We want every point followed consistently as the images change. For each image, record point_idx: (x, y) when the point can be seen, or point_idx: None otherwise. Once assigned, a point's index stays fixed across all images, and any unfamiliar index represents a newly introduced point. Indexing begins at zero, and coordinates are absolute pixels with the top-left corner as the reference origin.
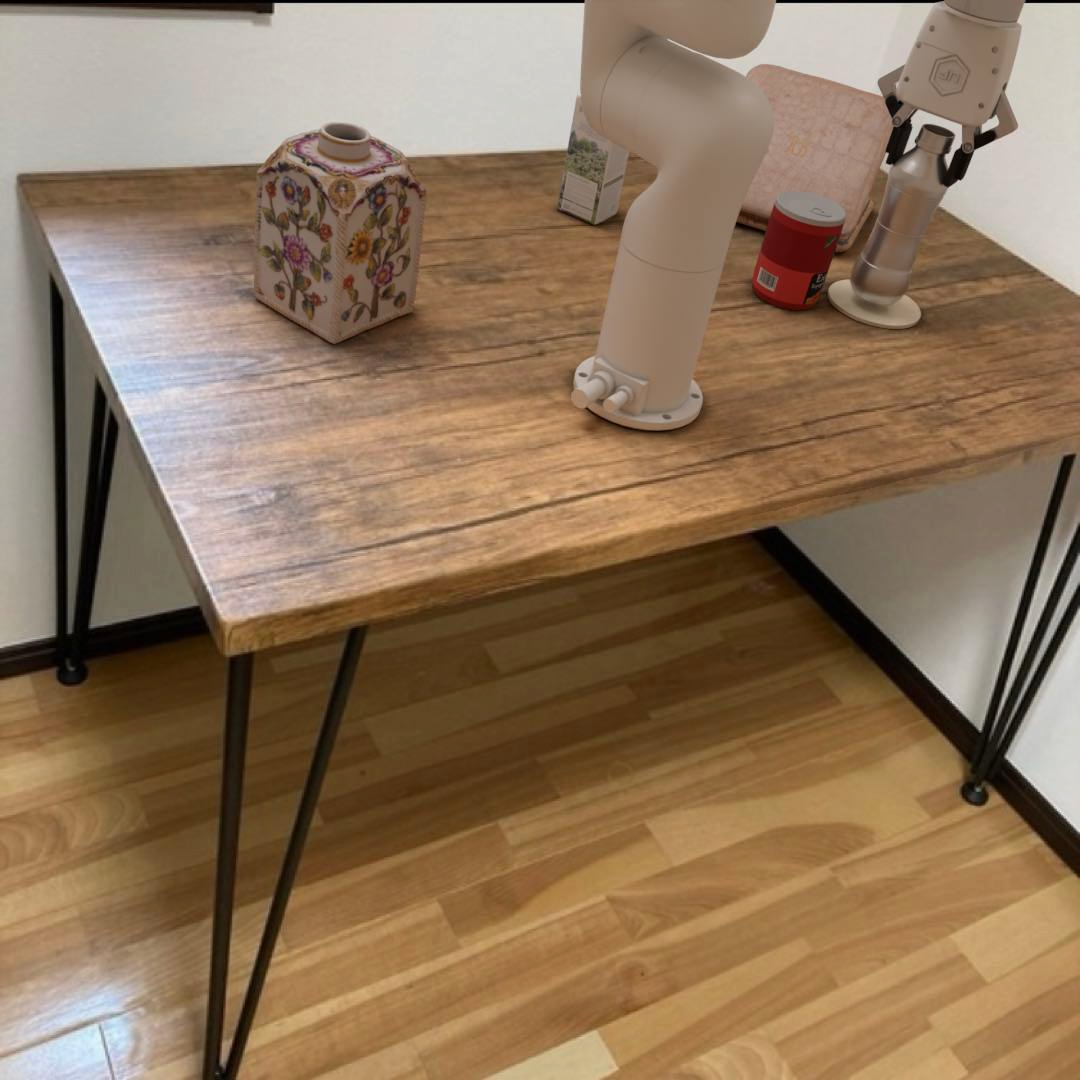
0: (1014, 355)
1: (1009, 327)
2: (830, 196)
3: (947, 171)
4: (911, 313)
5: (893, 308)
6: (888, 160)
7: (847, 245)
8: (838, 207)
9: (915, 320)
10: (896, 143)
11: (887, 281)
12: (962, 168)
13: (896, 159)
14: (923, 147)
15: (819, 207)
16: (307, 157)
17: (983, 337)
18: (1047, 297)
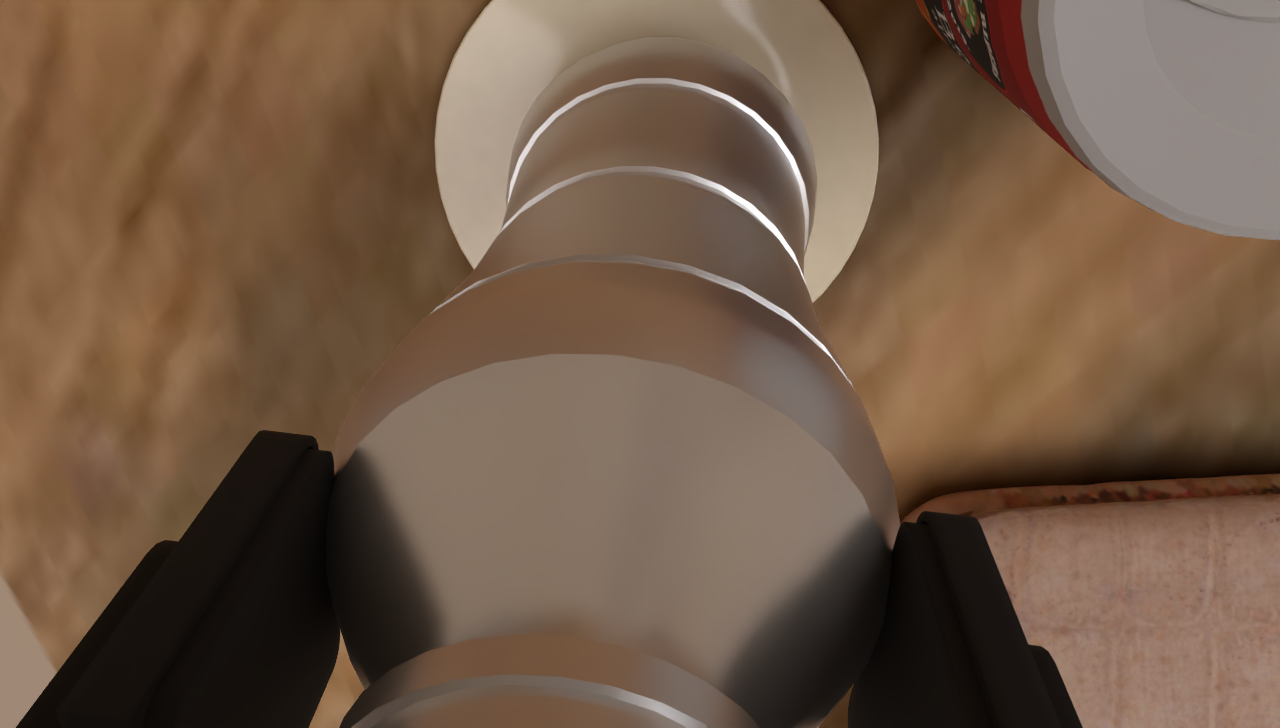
0: (19, 185)
1: (151, 413)
2: (1093, 704)
3: (277, 523)
4: (480, 184)
5: None
6: (959, 528)
7: None
8: (1119, 138)
9: (441, 127)
10: (987, 670)
11: (594, 66)
12: (121, 615)
13: (886, 617)
14: (624, 656)
15: (1264, 54)
16: None
17: (181, 246)
18: None
